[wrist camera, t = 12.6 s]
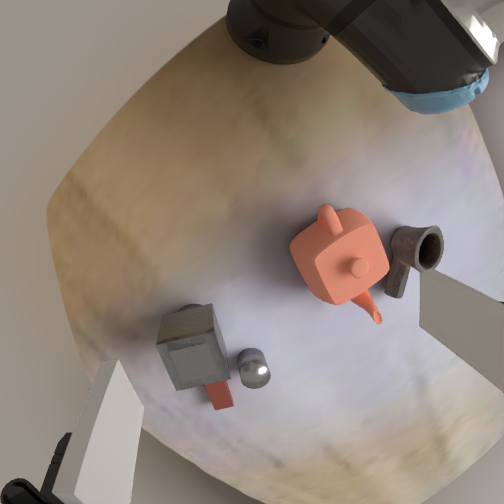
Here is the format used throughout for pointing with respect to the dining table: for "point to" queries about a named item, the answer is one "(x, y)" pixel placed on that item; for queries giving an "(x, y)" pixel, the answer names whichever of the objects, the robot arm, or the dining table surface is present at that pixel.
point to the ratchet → (216, 383)
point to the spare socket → (253, 368)
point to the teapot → (341, 258)
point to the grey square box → (193, 348)
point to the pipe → (413, 255)
